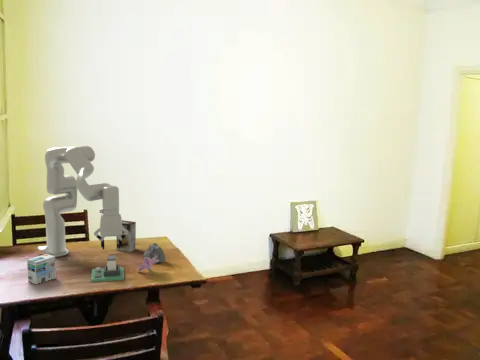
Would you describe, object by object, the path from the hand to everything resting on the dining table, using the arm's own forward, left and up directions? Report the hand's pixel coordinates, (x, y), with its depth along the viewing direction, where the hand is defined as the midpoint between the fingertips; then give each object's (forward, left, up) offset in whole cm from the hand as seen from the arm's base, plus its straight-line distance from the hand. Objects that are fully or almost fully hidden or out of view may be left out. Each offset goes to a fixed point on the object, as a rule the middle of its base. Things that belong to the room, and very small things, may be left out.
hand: (111, 248), depth 226 cm
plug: (0, 0, -13) cm, 13 cm away
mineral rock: (+22, +18, -14) cm, 32 cm away
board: (-2, 0, -14) cm, 14 cm away
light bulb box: (-31, 0, -14) cm, 34 cm away
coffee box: (+8, +39, -14) cm, 42 cm away
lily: (+17, 0, -14) cm, 22 cm away
